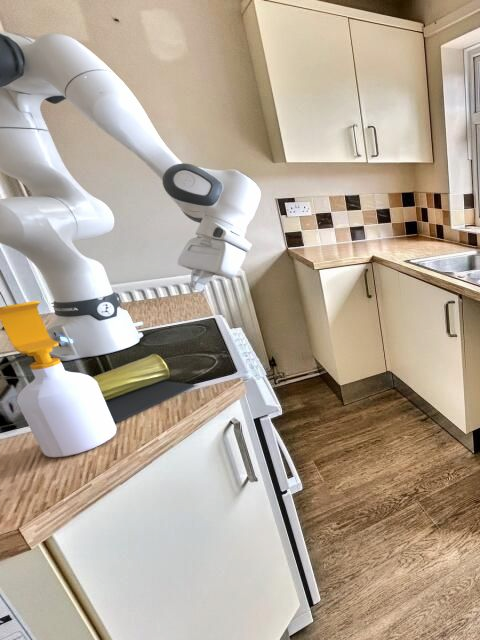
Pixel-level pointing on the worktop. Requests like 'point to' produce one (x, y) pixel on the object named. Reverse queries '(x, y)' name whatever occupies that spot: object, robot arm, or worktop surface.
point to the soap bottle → (55, 390)
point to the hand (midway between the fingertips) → (195, 289)
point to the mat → (143, 399)
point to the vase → (132, 376)
